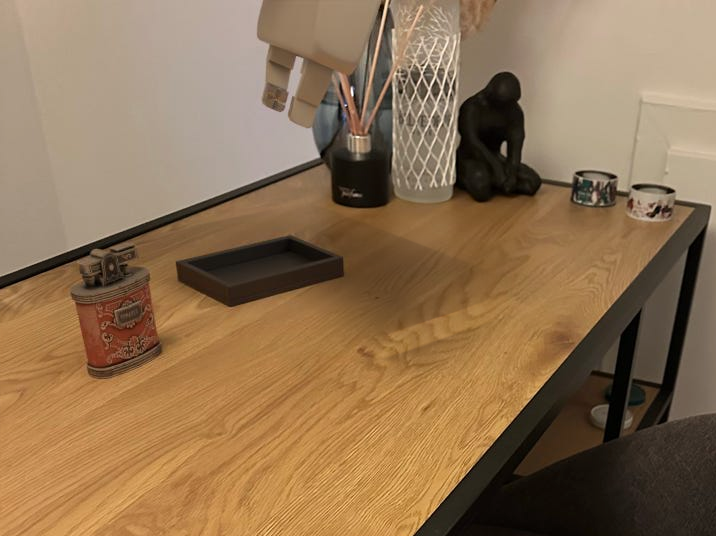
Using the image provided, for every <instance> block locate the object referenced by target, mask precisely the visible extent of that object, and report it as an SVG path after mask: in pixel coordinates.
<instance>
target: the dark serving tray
mask: <svg viewBox="0 0 716 536" xmlns="http://www.w3.org/2000/svg"><path fill="white" fill-rule="evenodd" d="M344 261H345V260H344V257H343V256H341V255H339V254H337V253H335V252H332V251H330V250H327V249H325V248H323V247H320V246H317V245H316V244H312V243H310V242H309V241H306V240H304V239H301V238H298V237H297V236H294V235H292V234H289V235H284V236H280V237H275V238H271V239H267V240H263V241H262V240H261V241H258V242H254V243H249V244H245V245H240V246H236V247H232V248H227V249H224V250H219V251H214V252H211V253H206V254H202V255H197V256H193V257H189V258H185V259H179V260H176V261H175V268H176V275H177V281H178V282H181V283H182V284H184V285H185V286H188V287H190V288H192V289H193V290H196V291H197V292H199V293H202V294H203V295H206V296H208V297H210V298H212V299H213V300H216V301H218V302H219V303H222V304H223V305H226V306H228V307H230V308H231V307H236V306H238V305H243V304H247V303H249V302H254V301H256V300H260V299H264V298H268V297H272V296H275V295H278V294H279V295H280V294H282V293H286V292H290V291H293V290H297V289H301V288H305V287H308V286H311V285H315V284H319V283H322V282H326V281H330V280H332V279H337V278H341V277H344V276H345V265H344V264H345V263H344Z"/></svg>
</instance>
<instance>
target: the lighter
mask: <svg viewBox="0 0 716 536" xmlns="http://www.w3.org/2000/svg"><path fill="white" fill-rule="evenodd" d="M139 257H140V256H139V253H138V246H137V245H135V243H134V242H128V241H127V242H124V243H121V244H118V245H115V246H112V247H109V250H103V249H99V248H94V249H91V250H90V253H89V256H88V257H86V258H82V259H80V260H78V261H77V267H78V271H79V274H80V275H81V277H82V281H80V282H79V283H77V284H74V285H73V286H71V287H70V288H69V292H70V296H71V300H72V301H73V302H74V303H75V309H76V312H77V318H78V323H79V327H80V332H81V336H82V341H83V345H84V350H85V355H86V360H87V361H86V362H85V363H86V364H85V365H86V369H87V374H88V375H89V376H90V377H93V378H96V379H109V378H112V377H113V378H114V377H117V376H119V375H122V374H125V373H128V372H130V371H133V370H135V369H137V368H140V367H141V366H143V365H145V364H147V363H149V362H151V361H153V360H154V359H155V358H157V357H158V356H160V355H162V354H163V347H162V342H161V341H160V339H159V336H158V330H157V323H156V317H155V312H154V305H153V300H152V294H151V286H150V282H151V274H150V270H149V269H148V268H146V267H143V266H135V265H133V266H130V265H129V264H128V263H131V262H133V261H136V260H138V259H139Z"/></svg>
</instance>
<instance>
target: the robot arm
mask: <svg viewBox="0 0 716 536" xmlns="http://www.w3.org/2000/svg"><path fill="white" fill-rule="evenodd" d="M381 3H382V0H262V3H261V7H260V10H259V14H258V18H257V24H256V38H257V40H259V41H261V42H263V43H265V44H267V45H269V46H268V50H267V55H266V59H265V78H264V79H265V80H264V81H265V83H264V87H263V92H262V95H261V103H262V105H264V106H265V107H266V108H269V109H271V110H274V111H275V112H279V113H283V112H284V111H285V109H286V105H287V100H288V98H289V91H288V89H289V82H290V78H291V74H292V73H291V72H292V71H293V70H294V67H295V63H296V60H297V58H300V59H303V60H302V64H301V68H300V72H299V73H300V74H301V76H300V79H299V82H298V85H297V87H296V91H295V94H294V95H292V96H291V100H290V103H289V109H288V111H287V118H288V119H289V121H290V122H292V123H294V124H295V125H297V126H300V127H302V128H305V129H311V128H312V127H313V126H314V123H315V118H316V115H317V112H318V107H320V105H321V102H322V100H323V99H324V97H325V95H326V93H327V91H328V90H329V88H330V85H331V82H332V78H333V74H334V71H335V72H337V73H340V74H343V75H346V76H351V75H353V73H354V72H355V70H356V69H357V67H358V65H359V64H360V62H361V60H362V58H363V56H364V54H365V51H366V48H367V45H368V42H369V40H370V36H371V34H372V31H373V27H374V25H375V22H376V19H377V17H378V16H377V15H378V13H379V10H380V6H381Z"/></svg>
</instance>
